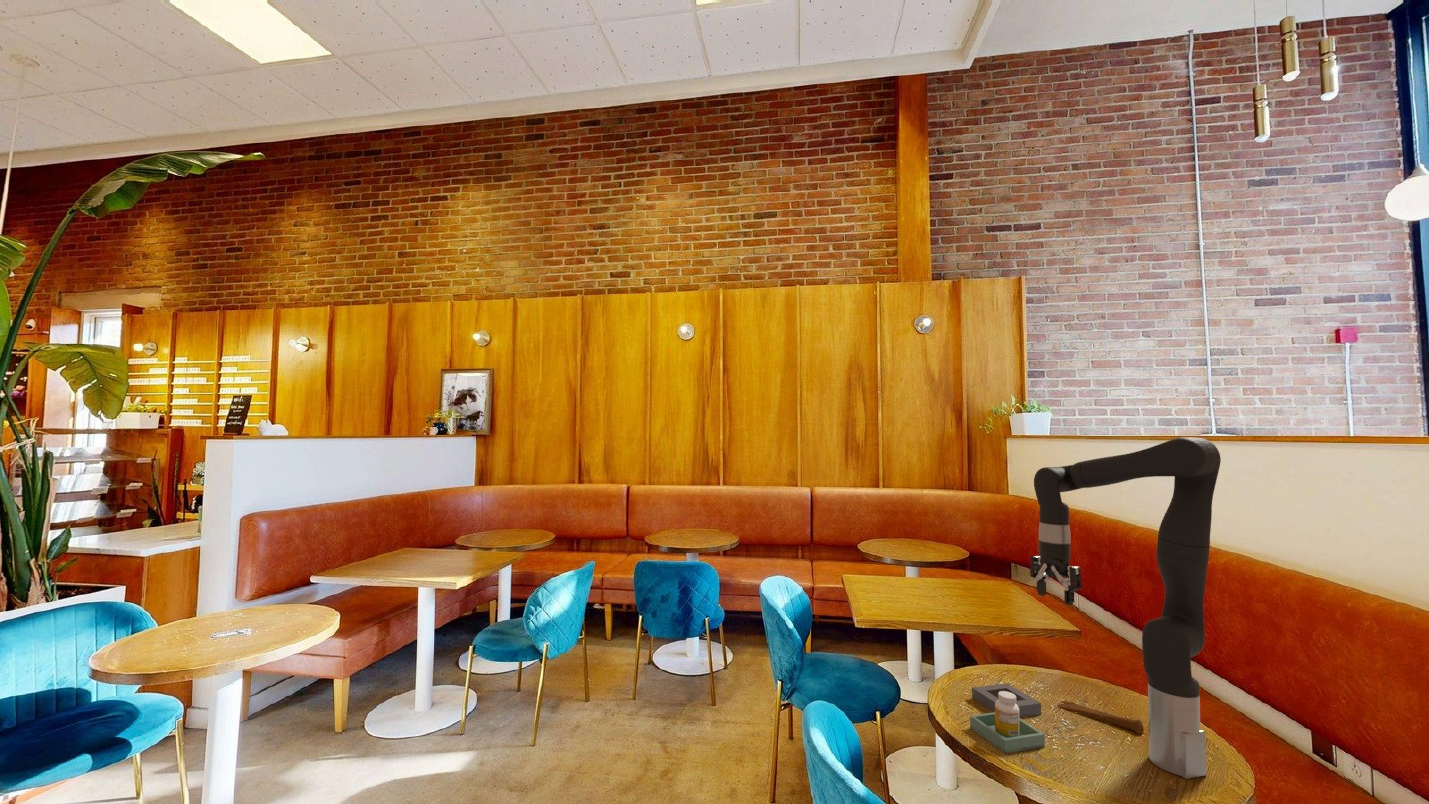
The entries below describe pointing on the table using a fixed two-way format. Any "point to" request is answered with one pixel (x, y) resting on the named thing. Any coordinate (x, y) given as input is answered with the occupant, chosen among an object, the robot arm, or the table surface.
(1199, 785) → the table surface
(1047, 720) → the table surface
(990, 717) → the tray
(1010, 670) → the table surface
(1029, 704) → the socket block
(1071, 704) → the primitive tool
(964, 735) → the table surface
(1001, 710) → the supplement bottle
